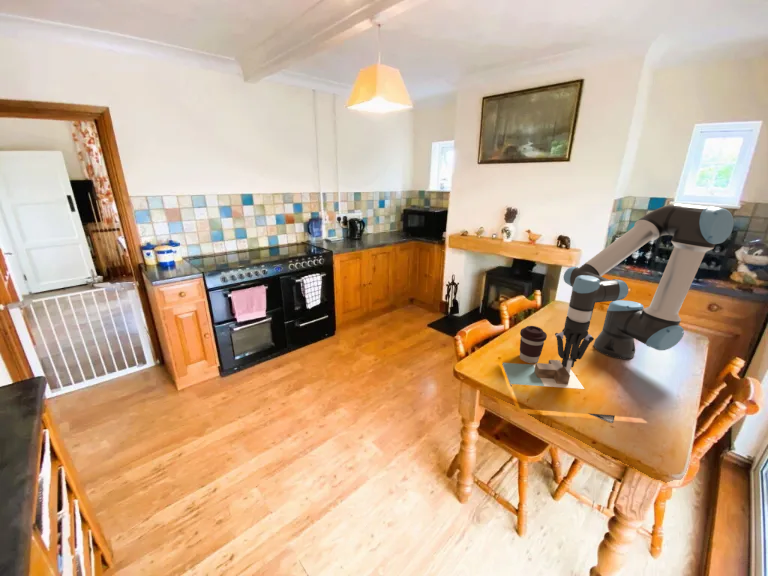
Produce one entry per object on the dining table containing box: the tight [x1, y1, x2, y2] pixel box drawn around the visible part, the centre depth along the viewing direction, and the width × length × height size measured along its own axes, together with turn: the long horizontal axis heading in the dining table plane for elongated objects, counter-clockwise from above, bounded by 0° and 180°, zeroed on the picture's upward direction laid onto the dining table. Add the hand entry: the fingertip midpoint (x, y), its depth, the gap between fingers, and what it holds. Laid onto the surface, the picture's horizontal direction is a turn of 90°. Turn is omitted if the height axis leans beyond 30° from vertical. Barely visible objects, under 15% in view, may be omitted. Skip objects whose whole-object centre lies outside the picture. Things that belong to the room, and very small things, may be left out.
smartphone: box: [588, 413, 616, 424], centre depth 111 cm, size 7×1×15 cm
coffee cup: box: [519, 325, 548, 364], centre depth 135 cm, size 10×10×15 cm
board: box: [502, 362, 585, 390], centre depth 126 cm, size 26×14×1 cm, turn 83°
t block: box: [534, 359, 570, 384], centre depth 125 cm, size 10×10×4 cm
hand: (565, 373), depth 124 cm, fingers closed
